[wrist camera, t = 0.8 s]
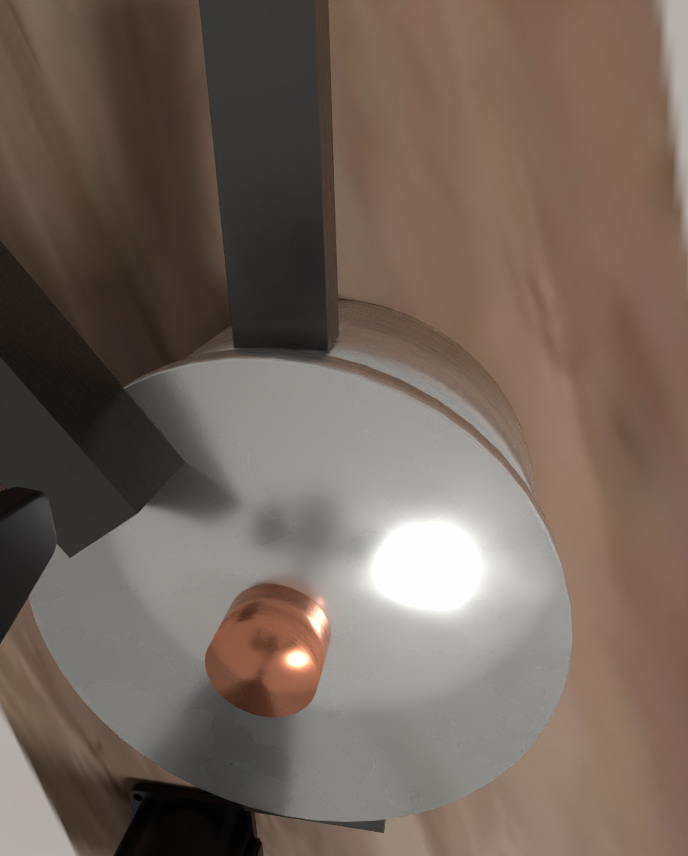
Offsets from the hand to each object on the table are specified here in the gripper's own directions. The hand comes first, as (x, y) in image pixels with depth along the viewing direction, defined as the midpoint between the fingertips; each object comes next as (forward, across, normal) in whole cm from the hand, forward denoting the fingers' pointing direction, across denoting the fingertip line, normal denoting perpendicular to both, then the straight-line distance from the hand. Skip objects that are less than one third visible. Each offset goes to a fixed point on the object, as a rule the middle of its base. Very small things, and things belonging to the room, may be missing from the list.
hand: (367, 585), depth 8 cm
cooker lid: (+6, +5, +5) cm, 10 cm away
